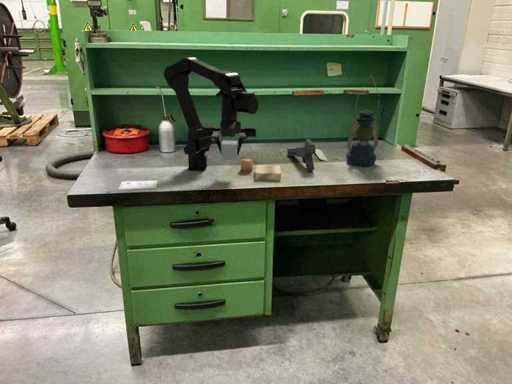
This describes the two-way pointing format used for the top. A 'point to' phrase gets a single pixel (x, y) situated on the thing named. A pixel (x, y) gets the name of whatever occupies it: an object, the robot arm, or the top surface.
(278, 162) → the top surface
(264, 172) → the beech slab
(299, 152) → the handgun
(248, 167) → the orange-tan rounded lump
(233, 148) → the blue-grey cube
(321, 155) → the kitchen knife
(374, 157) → the lantern
